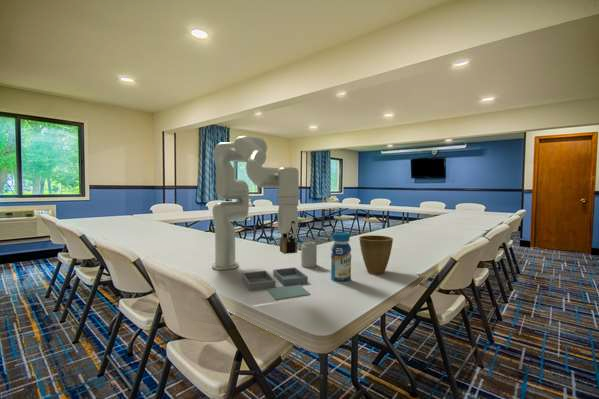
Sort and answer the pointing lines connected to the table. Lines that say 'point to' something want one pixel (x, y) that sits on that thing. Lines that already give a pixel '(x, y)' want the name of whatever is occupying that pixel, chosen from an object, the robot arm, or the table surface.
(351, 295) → the table surface
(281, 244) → the letter cube
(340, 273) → the beverage bottle
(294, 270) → the bin
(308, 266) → the can
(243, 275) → the bin
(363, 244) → the plant pot
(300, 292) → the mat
